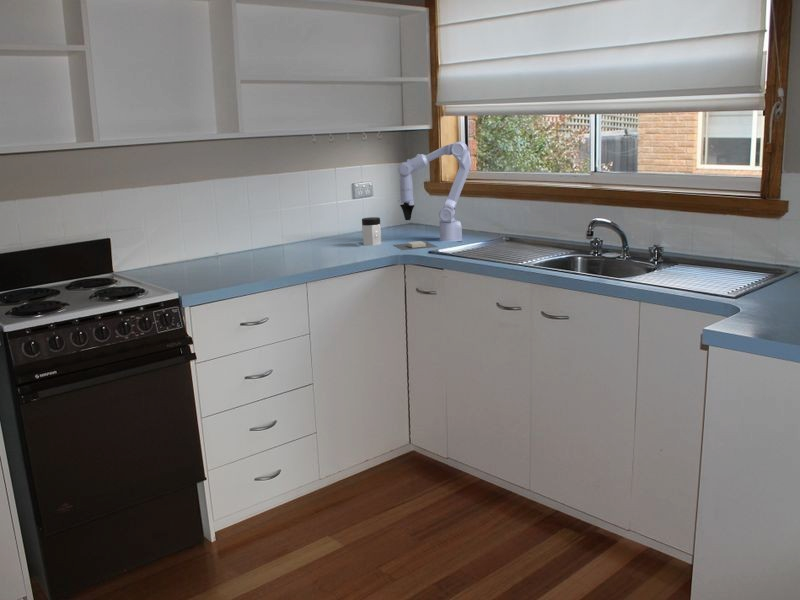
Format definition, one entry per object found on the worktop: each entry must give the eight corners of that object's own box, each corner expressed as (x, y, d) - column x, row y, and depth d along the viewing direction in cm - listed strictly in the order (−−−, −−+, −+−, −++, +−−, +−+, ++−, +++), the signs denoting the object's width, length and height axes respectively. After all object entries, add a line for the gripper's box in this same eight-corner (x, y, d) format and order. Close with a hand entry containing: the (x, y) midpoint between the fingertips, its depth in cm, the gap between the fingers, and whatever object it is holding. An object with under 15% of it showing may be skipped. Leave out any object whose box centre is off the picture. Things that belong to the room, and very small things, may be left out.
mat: (426, 243, 357) (426, 241, 357) (438, 248, 342) (438, 246, 342) (392, 246, 353) (392, 244, 353) (402, 251, 338) (402, 250, 338)
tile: (420, 241, 349) (425, 243, 342) (420, 244, 349) (425, 247, 342) (407, 242, 347) (412, 244, 340) (407, 246, 347) (412, 248, 341)
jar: (369, 247, 353) (367, 220, 350) (358, 245, 359) (357, 218, 357) (385, 244, 358) (384, 217, 355) (375, 243, 364) (374, 216, 362)
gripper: (393, 189, 363) (394, 219, 366) (402, 191, 350) (403, 222, 353) (408, 188, 365) (409, 217, 368) (417, 190, 352) (419, 221, 355)
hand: (407, 220), depth 361 cm, fingers closed
